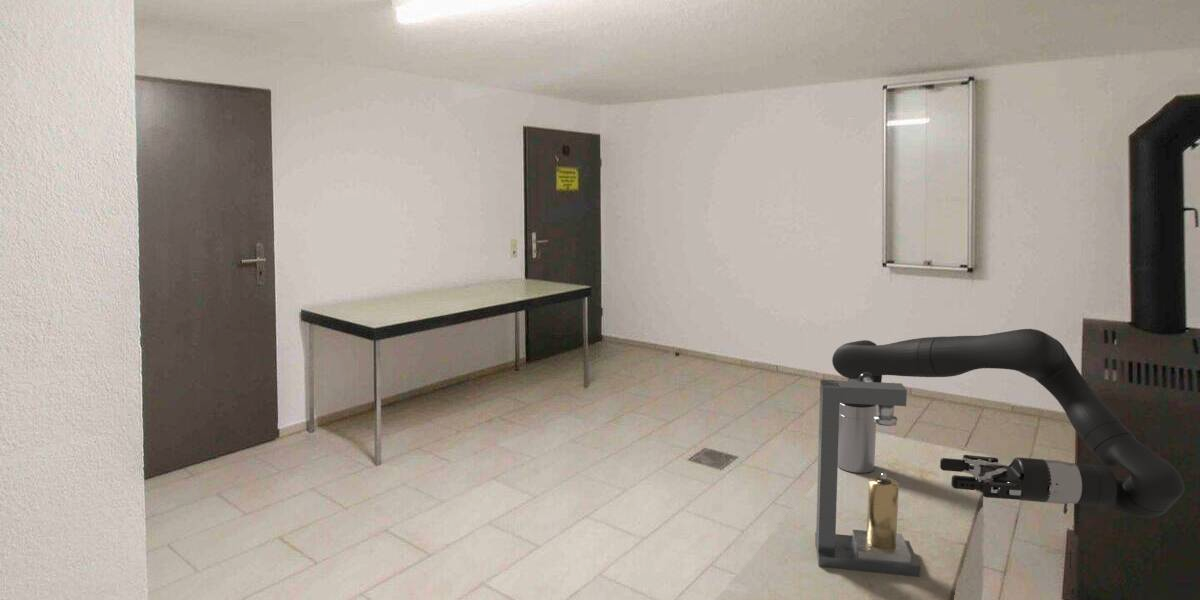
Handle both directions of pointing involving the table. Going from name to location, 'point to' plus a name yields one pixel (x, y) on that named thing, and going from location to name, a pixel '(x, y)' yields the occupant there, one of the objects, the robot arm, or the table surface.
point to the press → (829, 544)
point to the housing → (882, 512)
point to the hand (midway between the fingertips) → (946, 472)
